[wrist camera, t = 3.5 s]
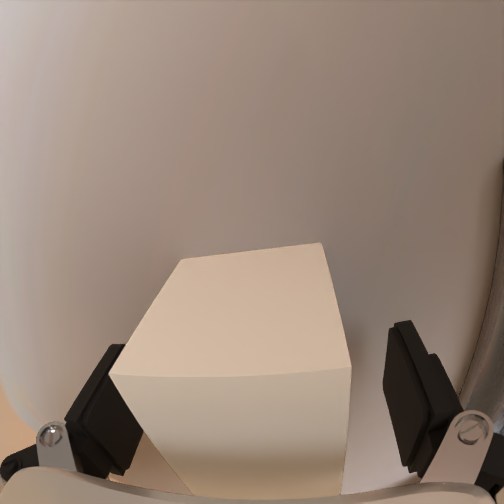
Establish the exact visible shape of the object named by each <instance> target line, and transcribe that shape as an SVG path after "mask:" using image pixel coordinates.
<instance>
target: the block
mask: <svg viewBox="0 0 504 504" xmlns="http://www.w3.org/2000/svg"><path fill="white" fill-rule="evenodd" d="M351 368H352V366H351V361H350V357H349V352H348V347H347V343H346V338H345V334H344V330H343V325H342V321H341V317H340V312H339V308H338V304H337V300H336V296H335V292H334V288H333V284H332V280H331V276H330V272H329V269H328V265H327V261H326V257H325V254H324V250H323V246H322V243H321V242H320V243H312V244H304V245H295V246H287V247H279V248H270V249H262V250H254V251H245V252H237V253H229V254H220V255H212V256H204V257H195V258H187V259H181V260H180V262H179V263H178V265H177V266H176V268H175V269H174V271H173V272H172V274H171V275H170V277H169V278H168V280H167V281H166V283H165V284H164V286H163V287H162V289H161V290H160V292H159V293H158V295H157V296H156V298H155V300H154V301H153V303H152V304H151V306H150V307H149V309H148V310H147V312H146V314H145V315H144V317H143V318H142V320H141V321H140V323H139V325H138V326H137V328H136V329H135V331H134V333H133V334H132V336H131V337H130V339H129V341H128V342H127V344H126V345H125V347H124V349H123V350H122V352H121V354H120V355H119V357H118V359H117V360H116V362H115V363H114V365H113V367H112V368H111V370H110V372H109V376H110V378H111V379H112V381H113V383H114V384H115V386H116V388H117V390H118V391H119V393H120V394H121V396H122V398H123V399H124V401H125V403H126V404H127V406H128V407H129V409H130V411H131V412H132V414H133V415H134V417H135V418H136V420H137V421H138V423H139V424H140V426H141V427H142V429H143V430H144V432H145V433H146V435H147V436H148V437H149V439H150V440H151V442H152V443H153V444H154V446H155V447H156V449H157V450H158V451H159V453H160V454H161V455H162V457H163V458H164V459H165V461H166V462H167V463H168V465H169V466H170V467H171V468H172V470H173V471H174V472H175V474H176V475H177V476H178V477H179V478H180V480H181V481H182V482H183V483H184V485H185V486H186V487H187V488H188V489H189V491H190V492H191V493H192V494H193V495H194V496H201V497H211V498H225V499H248V500H283V499H305V498H318V497H329V496H338V495H340V493H341V486H342V478H343V470H344V462H345V453H346V443H347V432H348V420H349V406H350V390H351Z"/></svg>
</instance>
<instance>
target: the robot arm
mask: <svg viewBox="0 0 504 504" xmlns="http://www.w3.org/2000/svg"><path fill="white" fill-rule="evenodd" d="M124 347H125V344H112V345H111V346H110V347H109V348H108V350H107V351H106V353H105V354H104V356H103V357H102V359H101V360H100V362H99V363H98V365H97V367H96V368H95V370H94V371H93V373H92V374H91V376H90V377H89V379H88V381H87V382H86V384H85V385H84V387H83V389H82V390H81V392H80V393H79V395H78V397H77V398H76V400H75V401H74V403H73V405H72V406H71V408H70V410H69V411H68V413H67V415H66V416H65V418H64V420H65V421H66V422H67V423H66V424H65V425H64V424H63V423H60V422H50V423H48V424H46V425H44V426H43V427H42V428H41V429H40V430H39V432H38V434H37V436H36V444H34V445H32V446H30V447H28V448H25V449H23V450H21V451H18V452H16V453H14V454H11V455H10V456H8V457H6V458H5V459H4V460H3V462H2V464H1V467H0V504H504V436H503V435H501V434H498V433H495V432H493V431H494V427H493V423H492V421H491V419H490V418H489V417H488V416H487V415H486V414H485V413H482V412H480V411H476V410H468V411H464V410H463V408H462V406H461V403H460V401H459V399H458V397H457V395H456V392H455V390H454V388H453V386H452V384H451V382H450V380H449V378H448V376H447V374H446V371H445V369H444V367H443V365H442V363H441V361H440V359H439V358H438V356H437V355H436V354H435V353H433V354H428V352H427V350H426V348H425V346H424V344H423V342H422V340H421V338H420V336H419V334H418V332H417V331H416V329H415V327H414V325H413V323H412V321H411V320H408V321H402V322H397V323H395V324H394V327H392V328H389V333H388V343H387V353H386V361H385V369H384V377H383V391H384V394H385V398H386V402H387V405H388V409H389V413H390V417H391V421H392V425H393V429H394V433H395V437H396V441H397V445H398V449H399V454H400V458H401V462H402V465H403V467H405V466H408V470H409V473H413V472H416V471H417V473H418V477H419V478H421V481H420V483H419V484H411V485H405V486H399V487H393V488H387V489H381V490H375V491H369V492H362V493H355V494H347V495H338V496H329V497H318V498H305V499H283V500H248V499H225V498H211V497H201V496H191V495H183V494H176V493H169V492H163V491H157V490H151V489H146V488H140V487H135V486H131V485H126V484H122V483H117V482H113V481H110V479H109V476H108V475H109V473H110V472H111V473H113V474H117V475H121V476H123V475H124V473H125V470H127V469H129V467H130V465H131V462H132V460H133V457H134V454H135V452H136V449H137V447H138V444H139V442H140V439H141V437H142V434H143V432H144V430H143V429H142V427H141V426H140V424H139V423H138V421H137V420H136V418H135V417H134V415H133V414H132V412H131V411H130V409H129V407H128V406H127V404H126V403H125V401H124V399H123V398H122V396H121V394H120V393H119V391H118V390H117V388H116V386H115V384H114V383H113V381H112V379H111V378H110V376H109V372H110V370H111V368H112V367H113V365H114V363H115V362H116V360H117V359H118V357H119V355H120V354H121V352H122V350H123V349H124Z"/></svg>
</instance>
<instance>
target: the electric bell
mask: <svg viewBox="0 0 504 504" xmlns="http://www.w3.org/2000/svg"><path fill="white" fill-rule="evenodd" d="M458 399H459V401H460V403H461V406H462V408H463V410H464V411H468V410H476V411H480V412H482V413H485V414H486V415H487V416H488V417H489V418H490V419H491V421H492V423H493V427H494V431H493V432H495V433H498V434H501V435H503V436H504V176H503V202H502V216H501V226H500V236H499V244H498V251H497V258H496V264H495V270H494V276H493V281H492V287H491V291H490V296H489V301H488V305H487V309H486V314H485V318H484V321H483V325H482V329H481V333H480V336H479V340H478V343H477V346H476V350H475V353H474V356H473V359H472V362H471V365H470V368H469V371H468V374H467V377H466V379H465V382H464V385H463V387H462V390H461V393H460V395H459V398H458Z"/></svg>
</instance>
